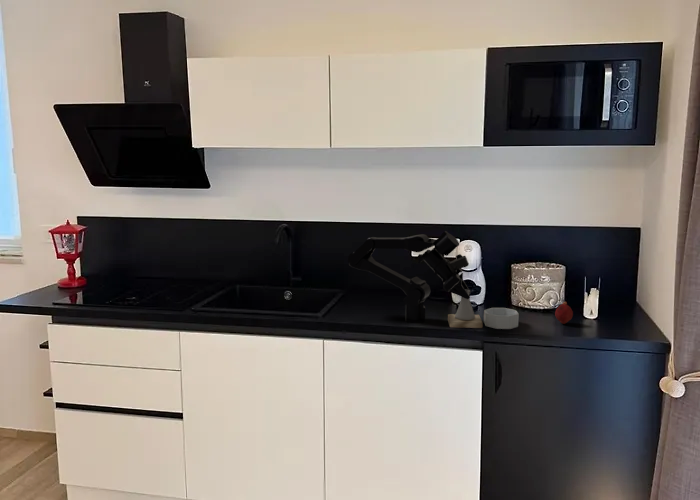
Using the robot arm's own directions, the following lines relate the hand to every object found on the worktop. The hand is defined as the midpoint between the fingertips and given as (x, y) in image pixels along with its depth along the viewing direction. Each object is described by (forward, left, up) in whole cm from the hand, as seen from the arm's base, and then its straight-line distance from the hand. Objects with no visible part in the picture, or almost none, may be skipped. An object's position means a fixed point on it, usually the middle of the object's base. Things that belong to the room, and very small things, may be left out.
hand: (469, 296), depth 222 cm
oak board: (-1, 0, -10) cm, 10 cm away
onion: (+33, +2, -10) cm, 35 cm away
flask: (-1, 0, -8) cm, 8 cm away
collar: (+11, 0, -10) cm, 15 cm away
